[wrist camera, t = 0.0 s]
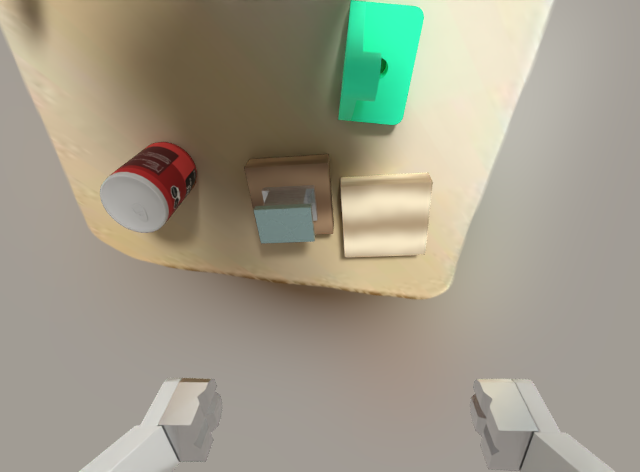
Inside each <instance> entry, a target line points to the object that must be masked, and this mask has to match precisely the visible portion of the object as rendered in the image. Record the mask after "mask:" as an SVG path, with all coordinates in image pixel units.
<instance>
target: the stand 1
mask: <svg viewBox="0 0 640 472" xmlns="http://www.w3.org/2000/svg"><path fill="white" fill-rule="evenodd" d="M244 169H245V174H246V178H247V183H248V187H249V191H250V196H251V200H252V205H253V209H254V208H255V206H263V205H264V200H263V195H262V189H263V188H267V187H286V186H304V185H314V187H315V196H316V206H317V215H318V218H317V221H313V222H314V231H315V234H333V227H334V220H333V207H332V194H331V181H330V169H329V156H328V154H324V155H308V156H292V157H276V158H260V159H249V161H248V162H247V164H246V166H245V167H244Z"/></svg>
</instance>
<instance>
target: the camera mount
mask: <svg viewBox="0 0 640 472" xmlns="http://www.w3.org/2000/svg"><path fill="white" fill-rule="evenodd" d="M423 20H424V15H423V12H422V10H421V9H420V8H419V7H416V6H408V5H397V4H386V3H375V2H365V1H354V0H351V2H350V12H349V21H348V31H347V39H346V49H345V58H344V68H343V77H342V88H341V97H340V107H339V117H338V120H346V121H357V122H367V123H378V124H388V125H396V124H398V123H400V122H401V120H402V119H403V115H404V110H405V105H406V101H407V96H408V91H409V86H410V82H411V77H412V72H413V67H414V62H415V58H416V53H417V48H418V43H419V39H420V34H421V29H422V24H423ZM381 58H383V59H384V60H386V68H385V70H384V71H383V72H382V73H381V74H380V70H381Z"/></svg>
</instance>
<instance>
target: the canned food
mask: <svg viewBox="0 0 640 472" xmlns="http://www.w3.org/2000/svg"><path fill="white" fill-rule="evenodd" d="M196 177H197V171H196V167H195V164H194V162H193V160H192V158H191V157H190V156H189V154H188V153H187V152H186V151H184V150H183V149H182V148H180V147H179V146H177V145H175V144H172V143H168V142H158V143H153V144H151V145H149V146H148V147H146V148H145V149H144V150H142V151H141V152H140V153H138V154H137V155H136V156H134V157H133V158H132V159H131V160H129V161H128V162H127V163H125V164H124V165H123V166H121V167H120V168H119V169H117V170H116V171H115V172H114V173H113V174H111V175H110V176H109V177H108V178H107V179H106V180H105V181H104V182H103V184H102V185H101V189H100V197H101V201H102V204H103V206H104V208H105V209H106V211H107V213H108V214H109V215H110V216H111V217H112V218H113V219H114V220H115V221H116V222H117V223H119V224H120V225H122V226H124V227H126V228H128V229H130V230H133V231H136V232H141V233H149V232H154V231H156V230H158V229H159V228H161V227H162V226H163V225H164V224H165V223H166V221H167V220H168V219H169V218H170V217H171V215H172V214H173V213H174V211H175V210H176V209H177V208H178V206H179V205H180V204H181V202H182V201H183V200H184V198H185V197H186V196H187V195H188V193H189V192H190V191H191V189H192V188H193V187H194V185H195V183H196Z"/></svg>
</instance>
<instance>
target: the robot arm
mask: <svg viewBox="0 0 640 472" xmlns="http://www.w3.org/2000/svg"><path fill="white" fill-rule="evenodd" d="M216 388H217V385H216V382H215V380H214V379H196V378H194V379H193V378H168V379H167V380H166V381H164V383H163V385H162V386H161V388H160V390H159V392H158V394H157V396H156V397H155V399H154V401H153V403H152V405H151V406H150V408H149V410H148V412H147V414H146V416H145V418H144V419H143V421H142V423H141V425H140V426H139V425H137V426H135V427H133V428H132V429H131V430H130V431H128V432H127V433H126V434H125V435H124V436H122V437H121V438H120V439H119V440H117V441H116V442H115V443H113V444H112V445H111V446H110V447H109V448H107V449H106V450H105V451H104V452H102V453H101V454H100V455H99V456H97V457H96V458H95V459H94V460H93V461H92V462H90V463H89V464H88V465H86V466H85V467H84V468H83V469H82V470H80V471H79V472H172V471H173V470H174V469H175V468H176V467H177V466H178V465H179V462H206V460H207V457H208V454H209V451H210V449H211V445H212V443H213V437H212V434H211V432H212V431H213V430H214V429H215V428H216V427H217V426H218V425H219V422H220V418H221V413H222V399H221V396H220V395H219V394H218V393H217V392H215V390H216ZM473 388H474V391H475V394H474V395H473V396H472V397H471V402H470V410H471V417H472V422H473V425H474V428H475V430H476V431H477V432H478V433H479V434H480V435H481V436H482V440H481V444H480V446H481V449H482V452H483V455H484V458H485V461H486V464H487V467H488V469H491V470H509V471H520V472H615V471H614V470H613V469H612V468H610V467H609V466H608V465H607V464H605V463H604V462H603V461H602V460H600V459H599V458H598V457H597V456H595V455H594V454H593V453H591V452H590V451H589V450H588V449H586V448H585V447H584V446H583V445H581V444H580V443H579V442H578V441H576V440H575V439H574V438H573V437H571V436H570V435H569V434H567V433H561V432H560V430H559V428H558V427H557V425H556V423H555V421H554V419H553V417H552V416H551V414H550V412H549V410H548V408H547V407H546V405H545V403H544V401H543V400H542V398H541V396H540V394H539V392H538V390H537V389H536V387H535V385H534V384H533V382H532V381H531V380H530V379H476V380H475V381H474V386H473Z"/></svg>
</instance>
